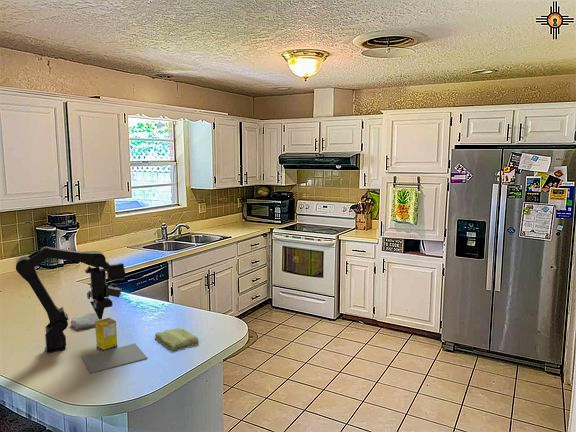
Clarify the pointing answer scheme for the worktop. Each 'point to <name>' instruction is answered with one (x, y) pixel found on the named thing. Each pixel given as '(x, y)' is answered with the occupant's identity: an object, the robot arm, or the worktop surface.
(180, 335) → the washcloth
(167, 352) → the worktop surface
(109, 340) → the supplement box
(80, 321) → the stone block
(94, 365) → the grey mat
